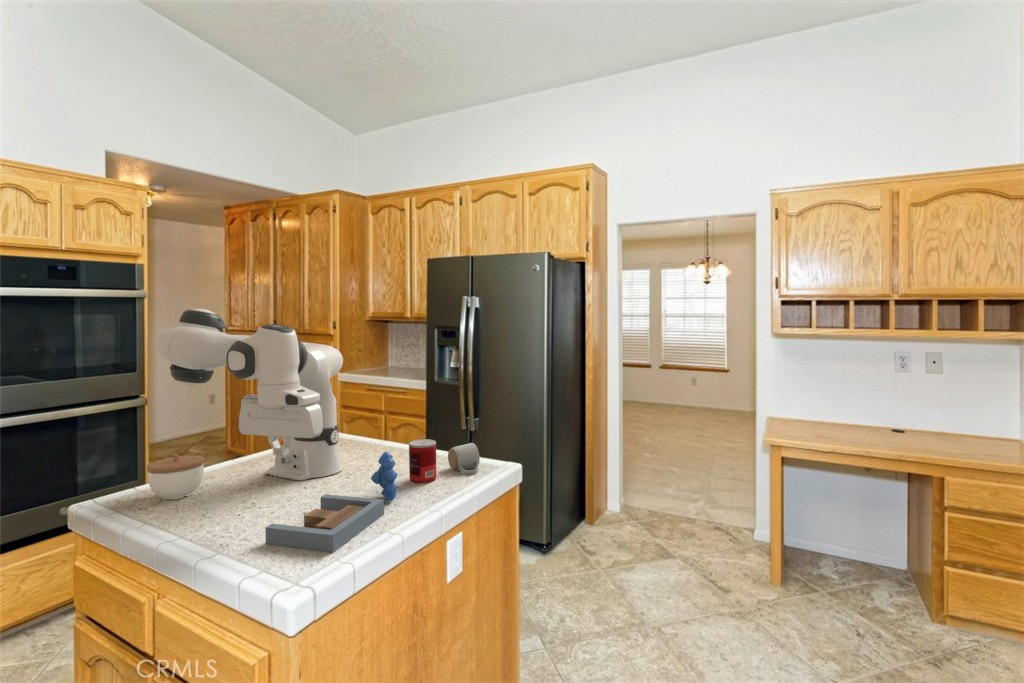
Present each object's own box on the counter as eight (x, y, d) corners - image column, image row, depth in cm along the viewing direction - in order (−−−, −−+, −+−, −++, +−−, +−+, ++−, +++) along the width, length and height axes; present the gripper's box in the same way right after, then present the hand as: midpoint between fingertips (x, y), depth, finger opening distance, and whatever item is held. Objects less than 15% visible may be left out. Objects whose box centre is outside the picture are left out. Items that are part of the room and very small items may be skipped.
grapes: (366, 494, 129) (366, 449, 129) (392, 490, 132) (391, 446, 132) (375, 509, 119) (374, 460, 119) (402, 504, 122) (402, 457, 122)
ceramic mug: (446, 467, 153) (446, 443, 152) (470, 463, 157) (470, 440, 157) (460, 477, 144) (460, 451, 143) (485, 473, 148) (484, 448, 147)
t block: (291, 536, 104) (291, 522, 104) (326, 514, 116) (326, 502, 115) (332, 542, 101) (332, 527, 101) (363, 519, 113) (363, 506, 113)
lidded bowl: (182, 504, 123) (180, 461, 123) (135, 503, 124) (133, 460, 124) (215, 487, 136) (214, 448, 136) (172, 487, 137) (171, 448, 136)
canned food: (439, 475, 145) (438, 439, 145) (432, 484, 137) (431, 445, 137) (414, 475, 146) (413, 438, 145) (406, 483, 138) (405, 445, 137)
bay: (265, 544, 100) (265, 527, 100) (325, 508, 120) (325, 494, 120) (333, 552, 96) (333, 535, 96) (384, 514, 116) (384, 499, 116)
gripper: (230, 395, 111) (232, 455, 111) (308, 398, 106) (310, 461, 106) (251, 392, 117) (253, 448, 117) (326, 394, 112) (327, 453, 112)
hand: (281, 454), depth 112 cm, fingers closed
